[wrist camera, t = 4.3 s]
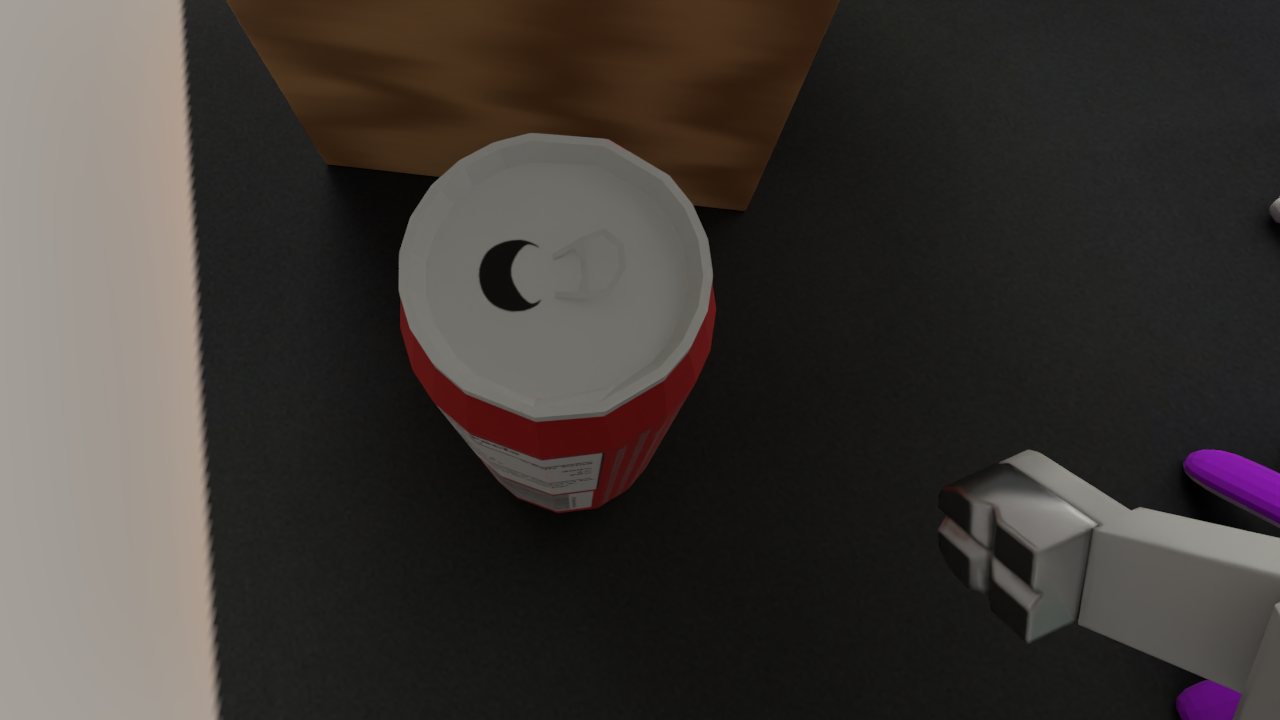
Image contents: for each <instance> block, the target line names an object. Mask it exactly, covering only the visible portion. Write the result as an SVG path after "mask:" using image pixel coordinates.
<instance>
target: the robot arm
mask: <svg viewBox="0 0 1280 720" xmlns="http://www.w3.org/2000/svg"><path fill="white" fill-rule="evenodd" d="M938 508H939V509H940V510H942V511H943V512H944V513H945V514H946V517H945V519H944V520H943V522H942V524H941V525H940V527H939V529H938V538H939V548H940V550H941V552H942V555H943V557H944V559H945V562H946V564H947V565H948V566H949V568H950V569H951V570H952V572H953V573H954V574H955V576H956V577H957V578H958V579H959V580H960V581H961V582H962V583H963V584H964V585H965V586H966V587H967V588H970V589H973V590H976V591H979V592H982V593H985V594H988V597H989V602H990V607H991V610H992V611H993V612H994V613H995V614H996V615H997V616H998V617H999V618H1000V619H1001V620H1002V621H1003V622H1004V623H1006V624H1007V625H1008V626H1009V627H1010V628H1011V629H1012V630H1013V631H1014V632H1015V633H1016V634H1017V635H1018V636H1019V637H1020V638H1021V639H1023V640H1024V641H1025V642H1026V643H1027V644H1029V643H1031V642H1033V641H1035V640H1037V639H1040V638H1042V637H1044V636H1046V635H1048V634H1050V633H1052V632H1055V631H1057V630H1059V629H1061V628H1063V627H1065V626H1067V625H1070V624H1072V623H1074V622H1076V621H1078V625H1081V626H1083V627H1086V628H1088V629H1090V630H1093V631H1095V632H1097V633H1100V634H1102V635H1104V636H1107V637H1109V638H1112V639H1114V640H1116V641H1119V642H1121V643H1123V644H1126V645H1128V646H1130V647H1133V648H1135V649H1137V650H1140V651H1142V652H1145V653H1147V654H1149V655H1152V656H1154V657H1156V658H1159V659H1161V660H1163V661H1166V662H1168V663H1171V664H1173V665H1175V666H1178V667H1180V668H1182V669H1185V670H1187V671H1189V672H1192V673H1194V674H1196V675H1199V676H1201V677H1204V678H1206V679H1208V680H1211V681H1213V682H1215V683H1218V684H1220V685H1222V686H1225V687H1227V688H1229V689H1232V690H1234V691H1237V692H1239V693H1241V694H1242V695H1241V698H1240V701H1239V703H1238V706H1237V709H1236V711H1235V714H1234V717H1233V719H1232V720H1280V538H1277V537H1272V536H1268V535H1263V534H1259V533H1254V532H1250V531H1245V530H1241V529H1236V528H1232V527H1227V526H1223V525H1218V524H1214V523H1209V522H1205V521H1200V520H1196V519H1191V518H1187V517H1182V516H1178V515H1173V514H1169V513H1164V512H1160V511H1155V510H1151V509H1146V508H1142V507H1139V508H1136V509H1134V510H1132V511H1131V510H1129V509H1128V508H1126V507H1125V506H1123V505H1121V504H1120V503H1118V502H1117V501H1115V500H1114V499H1112V498H1110V497H1109V496H1107V495H1106V494H1104V493H1103V492H1101V491H1099V490H1098V489H1096V488H1095V487H1093V486H1091V485H1090V484H1088V483H1087V482H1085V481H1084V480H1082V479H1080V478H1079V477H1077V476H1076V475H1074V474H1073V473H1071V472H1069V471H1068V470H1066V469H1065V468H1063V467H1062V466H1060V465H1058V464H1057V463H1055V462H1054V461H1052V460H1051V459H1049V458H1047V457H1046V456H1044V455H1043V454H1041V453H1039V452H1036V451H1032V450H1026V451H1024V452H1022V453H1019V454H1017V455H1015V456H1013V457H1010V458H1008V459H1006V460H1003V461H1001V462H999V463H998V464H993V465H991V466H989V467H986V468H984V469H982V470H980V471H978V472H975V473H973V474H971V475H969V476H967V477H965V478H962V479H960V480H958V481H956V482H954V483H951V484H949V485H947V486H945V487H943V489H942V490H941V492H940V494H939V503H938Z"/></svg>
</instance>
